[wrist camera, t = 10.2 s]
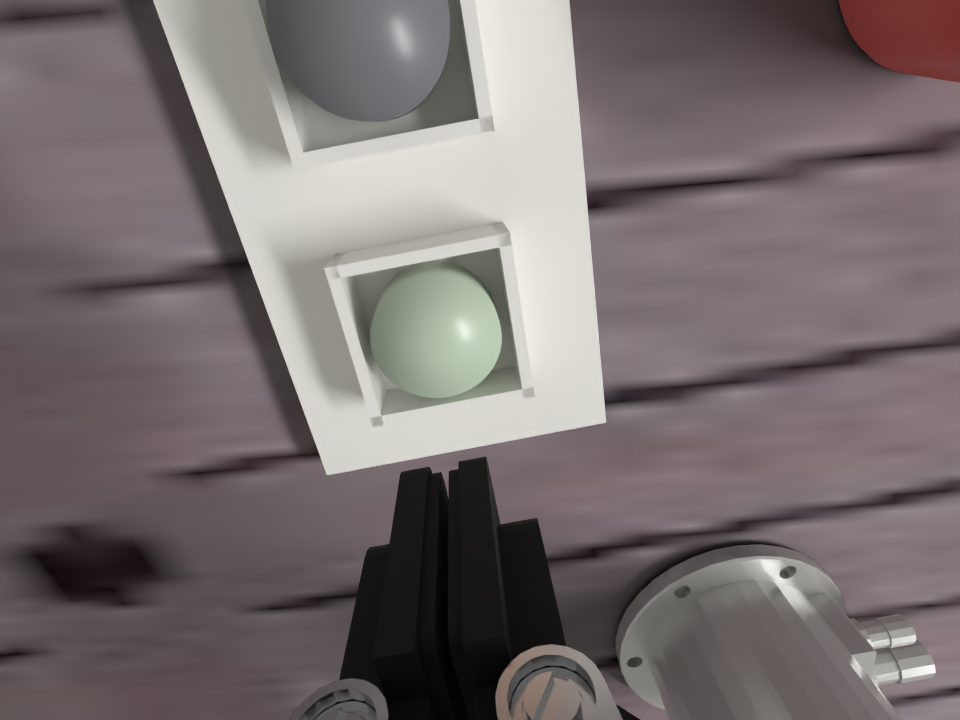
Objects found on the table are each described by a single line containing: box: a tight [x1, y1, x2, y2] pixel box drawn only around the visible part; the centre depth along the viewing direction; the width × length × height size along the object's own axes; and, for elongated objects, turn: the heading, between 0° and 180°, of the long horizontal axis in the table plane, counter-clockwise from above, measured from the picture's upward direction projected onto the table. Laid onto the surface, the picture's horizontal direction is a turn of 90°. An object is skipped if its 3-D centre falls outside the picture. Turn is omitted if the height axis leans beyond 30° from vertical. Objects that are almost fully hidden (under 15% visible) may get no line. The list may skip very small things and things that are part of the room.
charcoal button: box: [266, 0, 450, 122], centre depth 14 cm, size 4×4×2 cm
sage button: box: [370, 261, 502, 398], centre depth 18 cm, size 4×4×2 cm
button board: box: [153, 0, 606, 475], centre depth 16 cm, size 12×30×4 cm, turn 10°
